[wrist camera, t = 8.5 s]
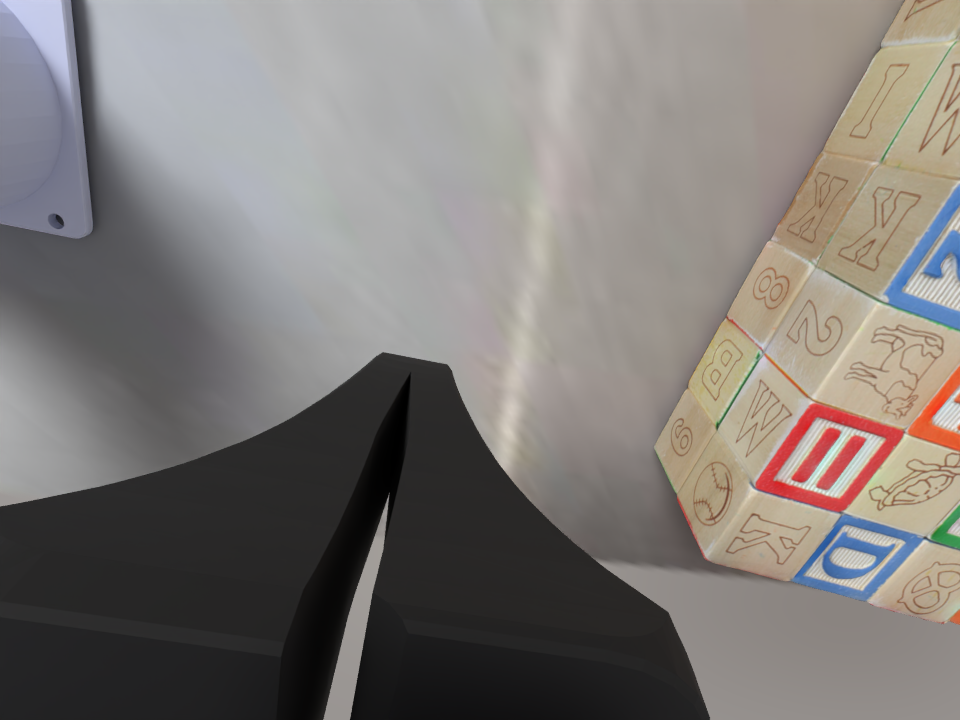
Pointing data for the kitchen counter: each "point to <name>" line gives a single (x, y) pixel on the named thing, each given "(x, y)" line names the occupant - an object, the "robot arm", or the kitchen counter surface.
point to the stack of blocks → (846, 356)
